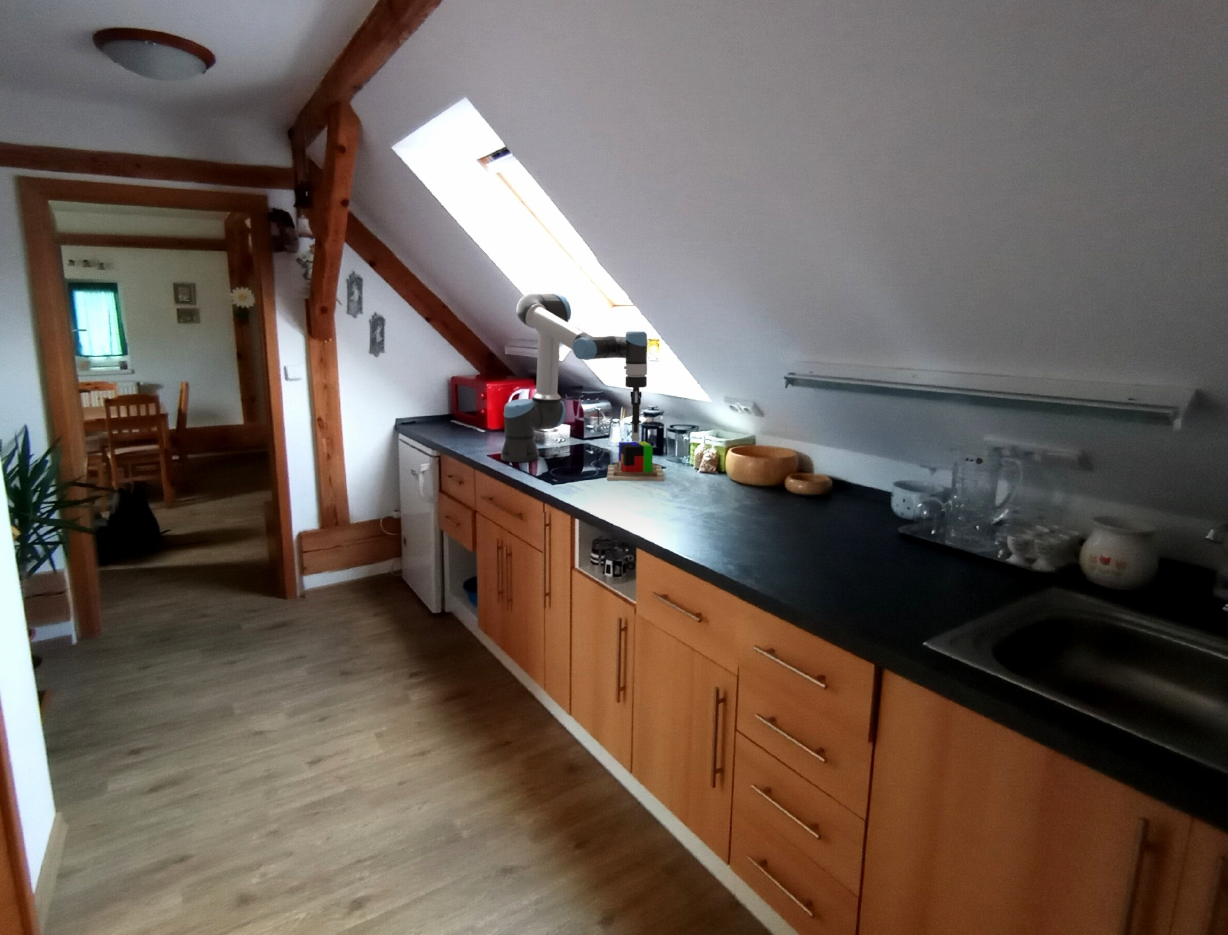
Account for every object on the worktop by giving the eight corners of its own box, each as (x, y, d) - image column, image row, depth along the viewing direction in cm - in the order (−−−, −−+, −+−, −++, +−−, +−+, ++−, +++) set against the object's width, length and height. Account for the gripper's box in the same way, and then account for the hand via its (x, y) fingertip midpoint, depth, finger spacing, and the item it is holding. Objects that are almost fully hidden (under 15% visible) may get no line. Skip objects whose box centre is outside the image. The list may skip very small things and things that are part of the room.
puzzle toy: (618, 468, 259) (618, 442, 256) (644, 467, 261) (645, 441, 259) (625, 475, 249) (625, 447, 247) (652, 473, 251) (652, 446, 249)
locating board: (608, 467, 265) (608, 462, 265) (661, 468, 265) (661, 462, 264) (606, 480, 246) (606, 474, 245) (663, 480, 245) (663, 474, 245)
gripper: (625, 374, 254) (625, 437, 259) (625, 377, 241) (625, 444, 246) (646, 374, 254) (645, 438, 259) (647, 377, 241) (646, 444, 246)
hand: (635, 441), depth 252 cm, fingers closed
